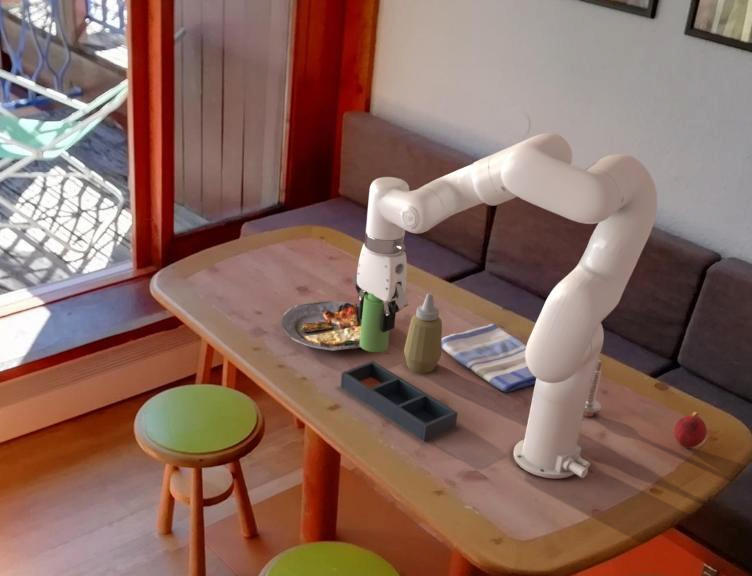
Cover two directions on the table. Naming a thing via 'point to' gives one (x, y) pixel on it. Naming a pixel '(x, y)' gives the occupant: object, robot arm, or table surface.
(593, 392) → the screw
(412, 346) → the squeeze bottle
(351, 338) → the food plate
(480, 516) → the table surface
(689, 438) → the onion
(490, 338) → the dish towel
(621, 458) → the table surface
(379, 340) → the bottle
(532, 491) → the table surface
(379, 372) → the tray
